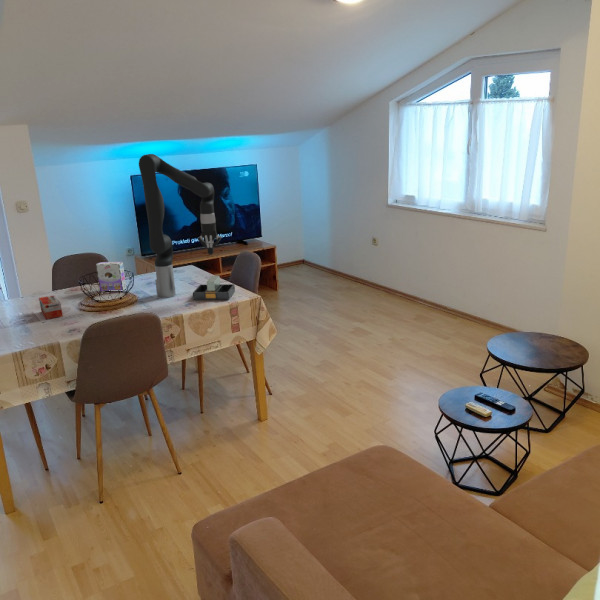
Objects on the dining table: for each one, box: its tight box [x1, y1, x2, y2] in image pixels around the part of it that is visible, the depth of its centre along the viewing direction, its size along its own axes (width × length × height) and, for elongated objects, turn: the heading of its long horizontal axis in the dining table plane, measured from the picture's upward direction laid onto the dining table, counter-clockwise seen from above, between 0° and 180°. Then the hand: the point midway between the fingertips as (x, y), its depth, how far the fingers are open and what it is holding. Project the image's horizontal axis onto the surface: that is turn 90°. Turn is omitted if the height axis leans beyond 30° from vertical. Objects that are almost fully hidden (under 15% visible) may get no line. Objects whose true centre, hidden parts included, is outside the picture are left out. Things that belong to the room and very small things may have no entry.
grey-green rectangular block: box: [206, 275, 221, 292], centre depth 311 cm, size 4×12×9 cm, turn 174°
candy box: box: [95, 261, 127, 292], centre depth 328 cm, size 14×6×16 cm, turn 84°
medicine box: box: [38, 294, 63, 320], centre depth 292 cm, size 15×8×8 cm, turn 32°
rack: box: [192, 283, 236, 301], centre depth 312 cm, size 19×16×4 cm
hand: (210, 254), depth 306 cm, fingers closed
